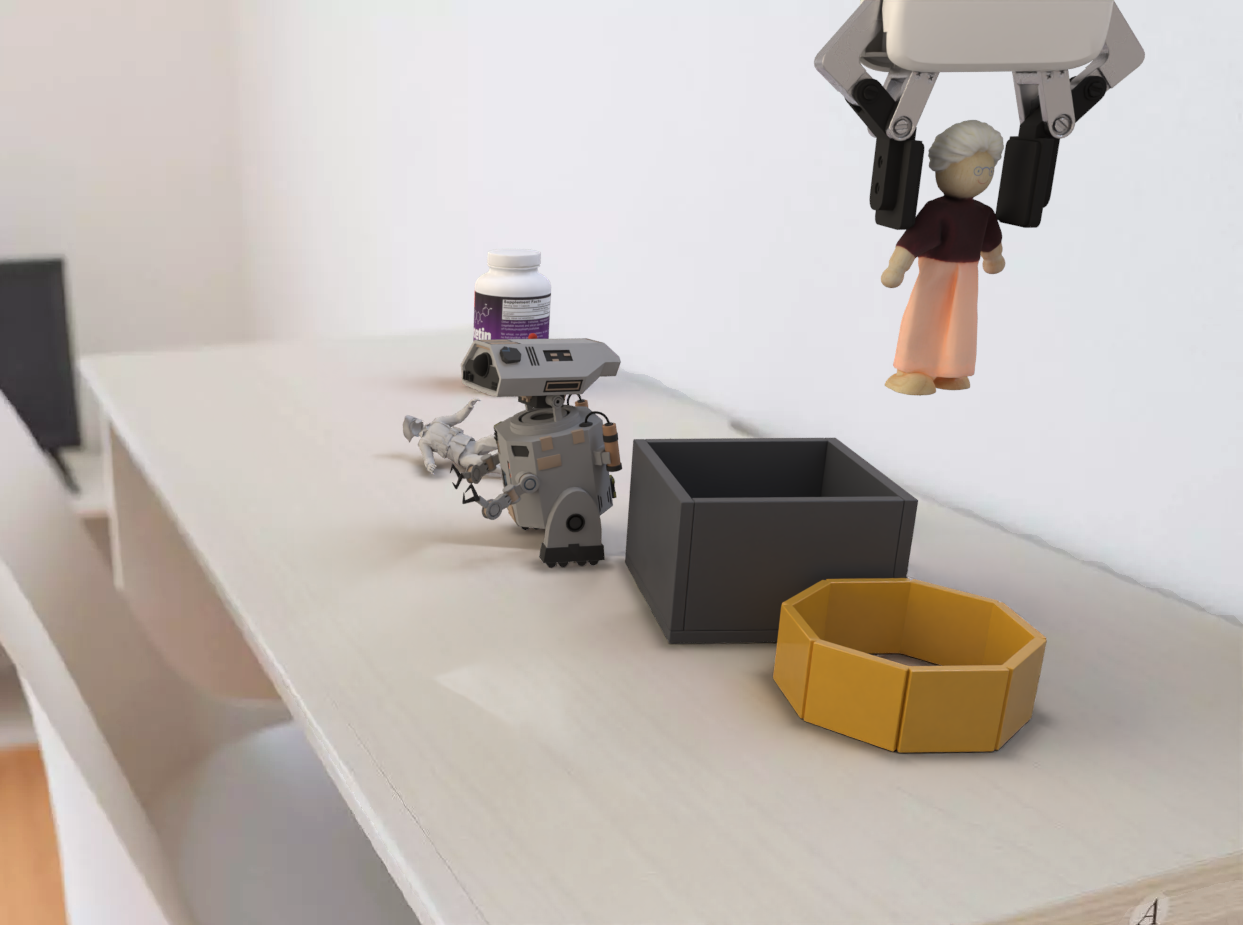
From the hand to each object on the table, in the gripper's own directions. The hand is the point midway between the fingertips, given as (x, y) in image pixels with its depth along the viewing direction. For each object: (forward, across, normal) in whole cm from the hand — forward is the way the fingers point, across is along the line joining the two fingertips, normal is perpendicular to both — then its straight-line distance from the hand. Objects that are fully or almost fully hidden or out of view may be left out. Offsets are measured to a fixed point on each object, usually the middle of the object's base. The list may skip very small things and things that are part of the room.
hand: (955, 221), depth 61 cm
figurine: (+25, +17, -23) cm, 38 cm away
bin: (+25, +4, -13) cm, 28 cm away
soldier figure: (+25, +20, -43) cm, 53 cm away
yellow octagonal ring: (+25, 0, +1) cm, 25 cm away
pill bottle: (+25, +12, -73) cm, 78 cm away
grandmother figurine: (+8, 0, 0) cm, 8 cm away
